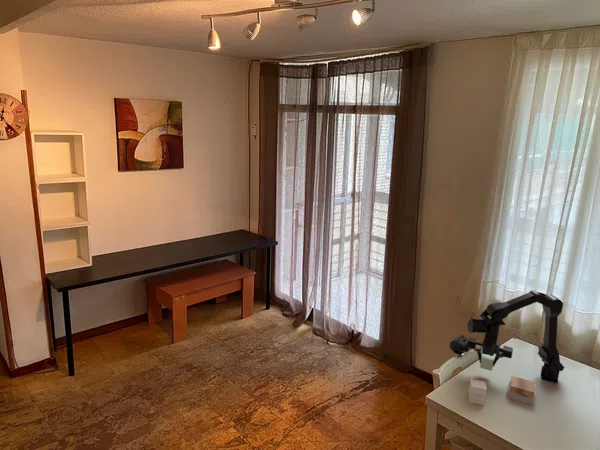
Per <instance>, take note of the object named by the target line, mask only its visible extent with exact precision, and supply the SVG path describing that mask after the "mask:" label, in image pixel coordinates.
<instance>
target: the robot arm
mask: <svg viewBox="0 0 600 450" xmlns="http://www.w3.org/2000/svg"><path fill="white" fill-rule="evenodd" d="M536 303H538V304H540V305H541V306H542V309H543V312H544V314H545V317H544V333H543V334H544V337H543V344H542V345H541V346H540V345H538V347H537V348H538V352H537V355H539V358H540V359H541V361H542V362H543V365H542V366H541V369H540V370H541V371H540V376H541V380H544V381H547V382H551V383H554V384H558V383H559V377H560V372H563V371H564V369H565V366H564V364H562V362H561V358H560V353H559V351H558V348H557V340H558V337H557V336H558V320H559V316H560V315H561V314H562V312H563V307H564V303H563V301H562V300H561V299H559V298H558V297H557V296H555V295H553V294H551V293H548V294H546V293H543V292H540V291H536V290H530V291H529V292H527V293H524V294H522V295H520V296H517V297H515V298H512V299H509V300H507V301H504V302H494V303H490V304H488V305H487V306H486V309H485V310H484V311H483V312H481V314H480V315H479V316H480V317H475V316H470V319H469V320H468V321H467V327H466V328H467V331H468V332H469V334H470V333H471V334H483V340H482V342H481V341H478V338H476V337H473V336H472V337H471V336H470V337H467V338H468V341H466V343H467V345H466V347H468V348H470V349H472V350H473V351H475V352H476V354H477V357H478V360H479V364H480V363H481V357H482V354H487V355H490V356H494V362H493V368H494V367H495V365H496V363H497V362H498V360H500V358H501V359H502V358H508V359H512V358H513V357H512V356H513V352H514V349H513V347H510V346H507V345H503V347H501V346H500V345H498V342H499V336H500V329H501V326H506V325H507V324H506V323H505V322H504V319H507V317H508V316H509V315H510V314H511V313H513V312H515V311H519V310H520V309H523V308H525V307H528V306H530V305H532V304H536ZM488 316H489V317H488Z"/></svg>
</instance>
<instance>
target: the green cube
mask: <svg viewBox="0 0 600 450" xmlns="http://www.w3.org/2000/svg"><path fill="white" fill-rule="evenodd" d="M494 359H495V355H493V356H490V355H487V354H483V353H482V357H481V363H480V362H479V364H480V365H479V369H483V370H487V371H491V372H492V371H493V369H494V367H493V362H494Z"/></svg>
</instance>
